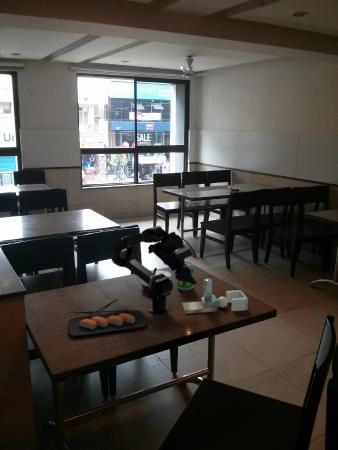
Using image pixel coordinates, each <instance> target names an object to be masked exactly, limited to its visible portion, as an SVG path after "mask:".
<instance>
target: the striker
mask: <svg viewBox="0 0 338 450" xmlns="http://www.w3.org/2000/svg"><path fill="white" fill-rule="evenodd" d="M217 299H218V298H217V297H216V296H215V294H213V279H212V278H204V279H203V296H202V297H200V302H201V303H202V305H203V306H204V307H210V306H214V307H218V305H217V303H218V300H217Z"/></svg>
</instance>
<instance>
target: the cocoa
mask: <svg viewBox="0 0 338 450" xmlns="http://www.w3.org/2000/svg"><path fill="white" fill-rule="evenodd" d="M157 270H158V267H155V268H154V269H153V270H152V271H153V273H154V274H155V273H156V271H157ZM140 284H141V288H142V290H143V291H144V292H146V293H147V292H148V291H149V290H150V288H149V285H148V284H147V283H146V282H144V281H143V280H142V279H141V282H140Z"/></svg>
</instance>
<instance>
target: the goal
mask: <svg viewBox="0 0 338 450" xmlns="http://www.w3.org/2000/svg"><path fill="white" fill-rule="evenodd" d="M225 298H226V299H227V301H228V303H227V304H230V303H231V308H230V309H231V312H240V311H248V308H249V306H248V305H249V298H248V297H247V296H246V294H245V293H244V292H243V291H242V290H239V289H237V290H227V291H225Z"/></svg>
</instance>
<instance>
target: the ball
mask: <svg viewBox="0 0 338 450" xmlns="http://www.w3.org/2000/svg"><path fill="white" fill-rule="evenodd" d="M216 299H217V300H218V303H217V307H219V308H222V309H223V308H225V307H227V305H228V304H229V303H228V301H227V299H226V296H219V297H218V298H216Z"/></svg>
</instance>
